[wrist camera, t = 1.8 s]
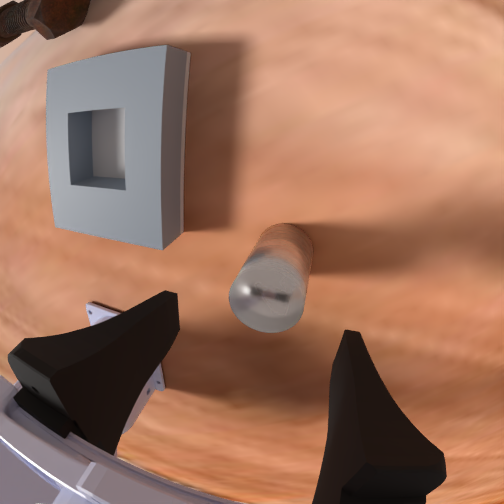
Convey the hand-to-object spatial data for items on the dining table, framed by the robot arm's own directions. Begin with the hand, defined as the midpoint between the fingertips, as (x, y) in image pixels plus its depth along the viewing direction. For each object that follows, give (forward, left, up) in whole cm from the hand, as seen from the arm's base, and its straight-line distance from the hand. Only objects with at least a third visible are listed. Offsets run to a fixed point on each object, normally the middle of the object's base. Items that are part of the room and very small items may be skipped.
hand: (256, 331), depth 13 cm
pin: (0, 0, -8) cm, 8 cm away
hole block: (+6, +12, -8) cm, 16 cm away
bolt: (+19, +24, -9) cm, 31 cm away
